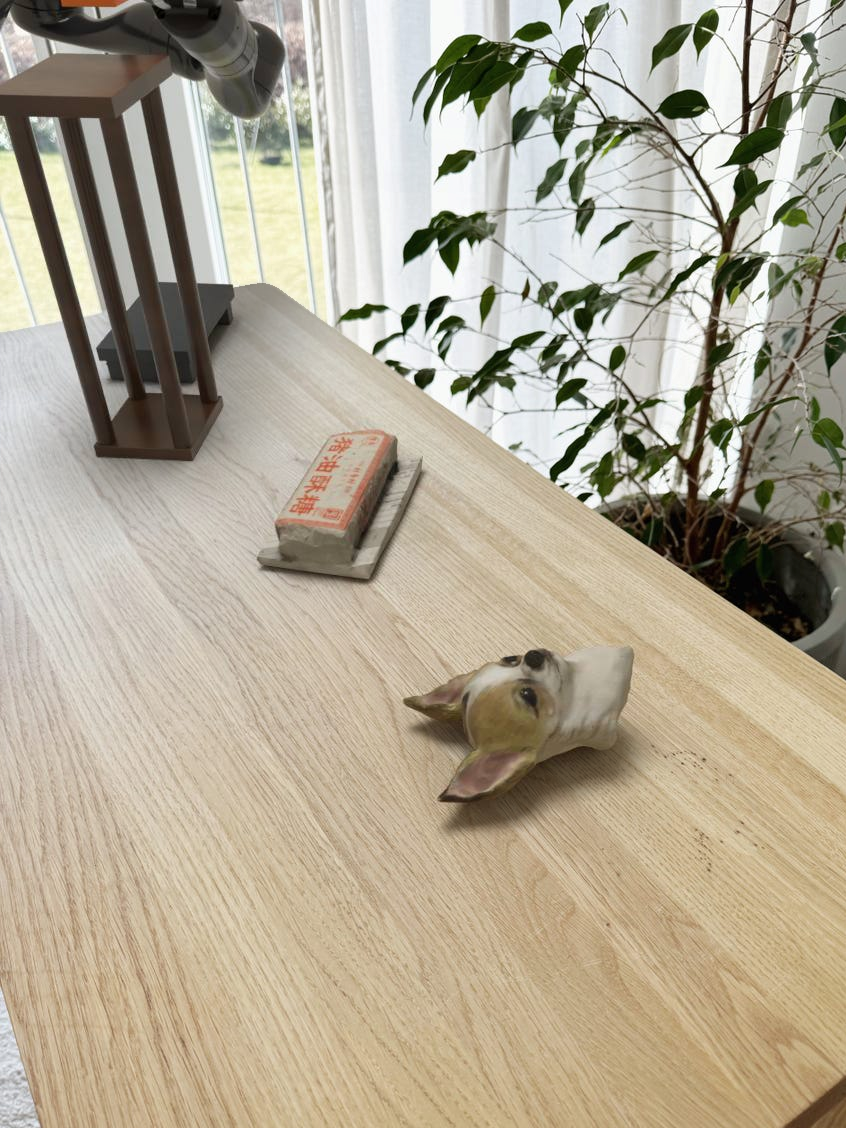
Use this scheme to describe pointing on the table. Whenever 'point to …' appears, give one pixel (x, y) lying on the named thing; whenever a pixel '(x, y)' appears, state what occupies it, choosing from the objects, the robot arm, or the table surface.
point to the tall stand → (105, 93)
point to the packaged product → (344, 506)
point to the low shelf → (170, 330)
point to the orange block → (92, 3)
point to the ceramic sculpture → (529, 713)
